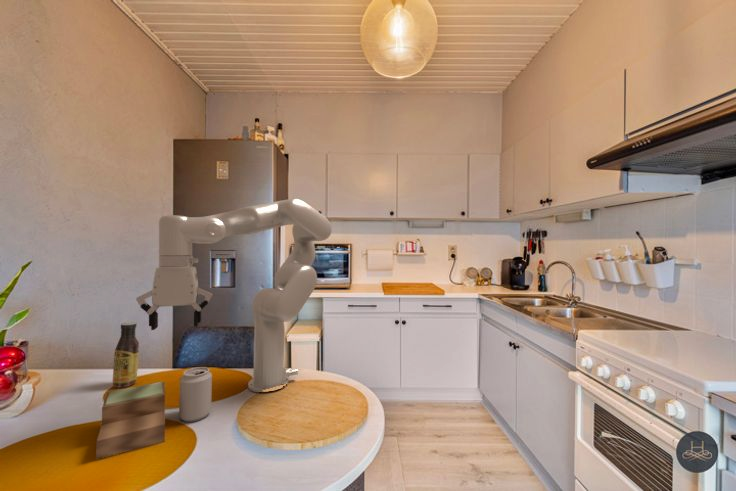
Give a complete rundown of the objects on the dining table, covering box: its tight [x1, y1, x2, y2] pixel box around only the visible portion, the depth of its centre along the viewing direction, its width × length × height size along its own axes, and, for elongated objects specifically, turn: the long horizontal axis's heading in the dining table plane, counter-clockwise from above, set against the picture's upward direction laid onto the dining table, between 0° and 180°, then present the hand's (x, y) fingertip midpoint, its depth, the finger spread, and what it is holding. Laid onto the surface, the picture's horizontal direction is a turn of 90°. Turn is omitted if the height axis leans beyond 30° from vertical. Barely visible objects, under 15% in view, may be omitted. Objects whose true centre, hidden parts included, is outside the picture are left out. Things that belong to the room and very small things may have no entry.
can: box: [178, 366, 213, 423], centre depth 83 cm, size 8×8×12 cm
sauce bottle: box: [112, 321, 140, 389], centre depth 101 cm, size 7×6×20 cm
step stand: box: [95, 381, 166, 460], centre depth 75 cm, size 12×16×8 cm
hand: (175, 327), depth 83 cm, fingers open, 9 cm apart
